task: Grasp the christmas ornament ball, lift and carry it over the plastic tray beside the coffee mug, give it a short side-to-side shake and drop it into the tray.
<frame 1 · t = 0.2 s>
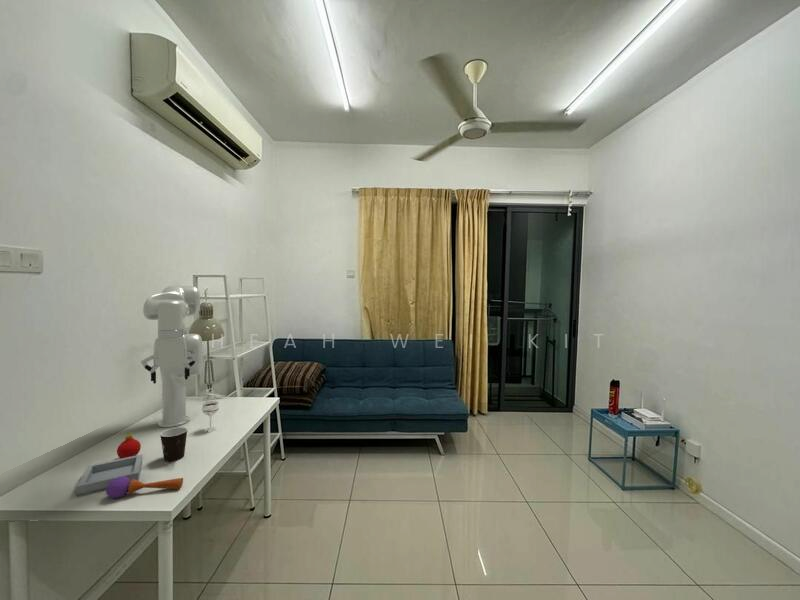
hand: (170, 380, 124), 31 cm above the table, fingers open, 9 cm apart
tray: (112, 477, 114), on the table
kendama: (145, 493, 106), on the table
wineglass: (210, 429, 155), on the table
christmas ornament: (129, 458, 127), on the table
coffee mug: (173, 459, 127), on the table
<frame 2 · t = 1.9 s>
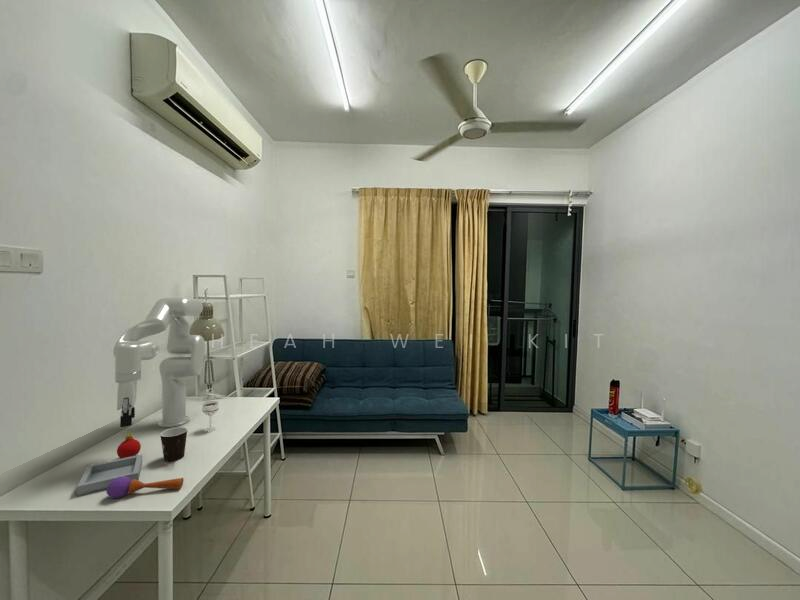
hand: (127, 422, 126), 14 cm above the table, fingers open, 9 cm apart
nothing on the table moved.
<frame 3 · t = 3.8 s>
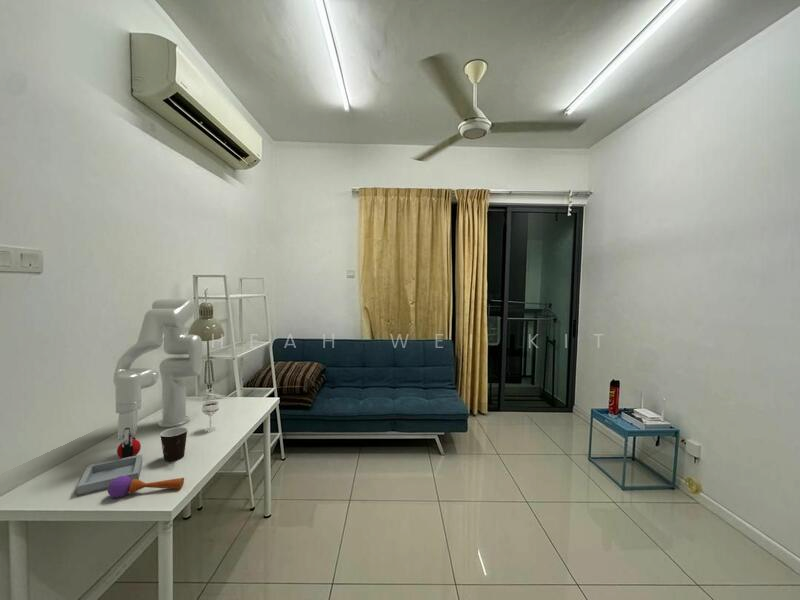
hand: (128, 452, 127), 2 cm above the table, fingers closed on christmas ornament, 7 cm apart
christmas ornament: (129, 458, 127), on the table, touching gripper
everything else where it was.
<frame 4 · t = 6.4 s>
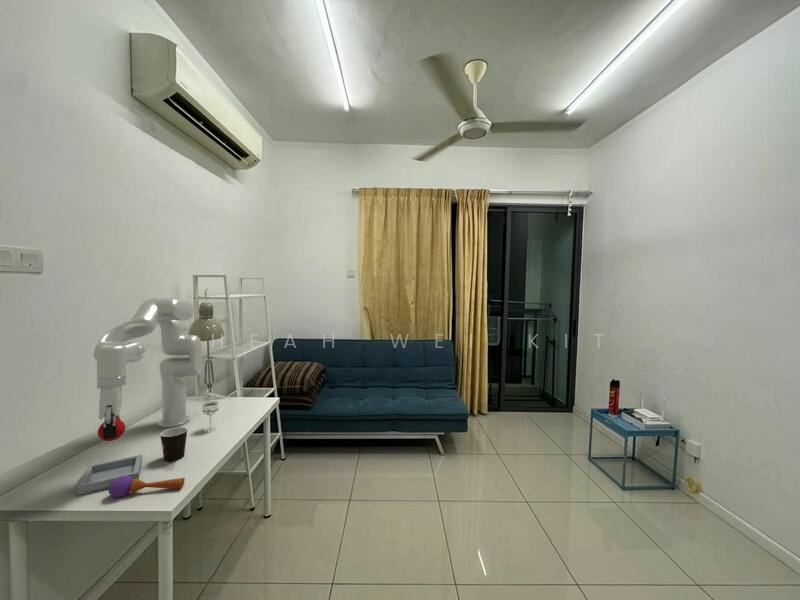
hand: (111, 433, 113), 15 cm above the table, fingers closed on christmas ornament, 7 cm apart
christmas ornament: (111, 440, 113), point 13 cm above the table, touching gripper
everything else where it was.
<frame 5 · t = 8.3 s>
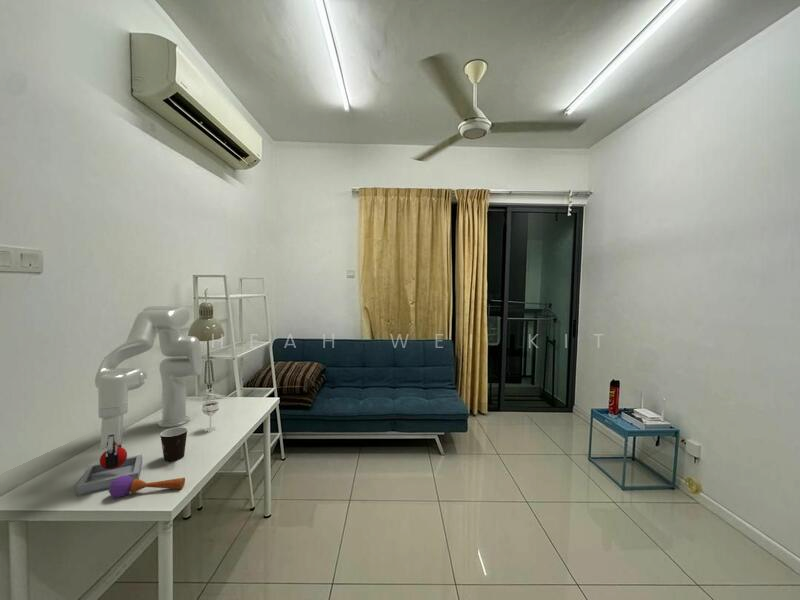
hand: (113, 461, 114), 5 cm above the table, fingers closed on christmas ornament, 7 cm apart
christmas ornament: (113, 468, 114), point 3 cm above the table, touching gripper
everything else where it was.
when the fingers open (5 cm above the table, at t = 9.2 s): christmas ornament drops 2 cm, resting on tray.
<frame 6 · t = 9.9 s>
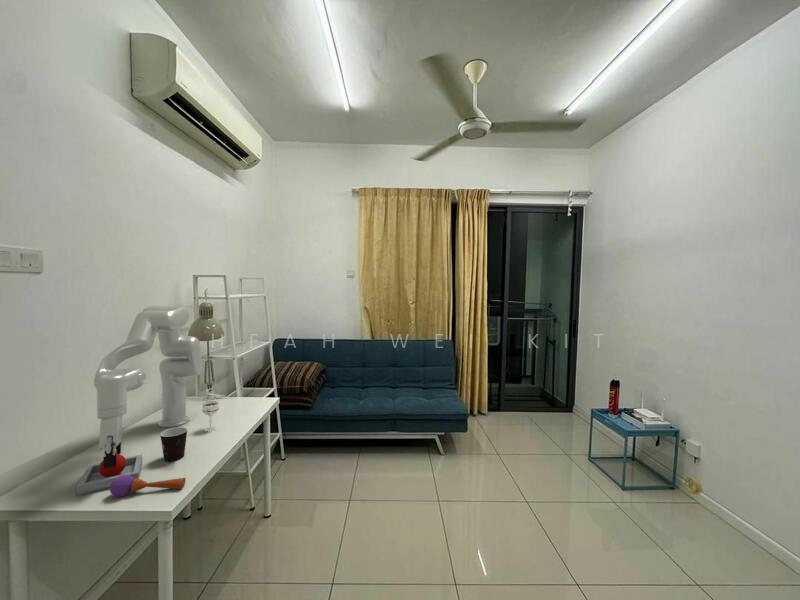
hand: (112, 460, 114), 6 cm above the table, fingers open, 9 cm apart
christmas ornament: (112, 476, 114), resting on tray
everything else where it was.
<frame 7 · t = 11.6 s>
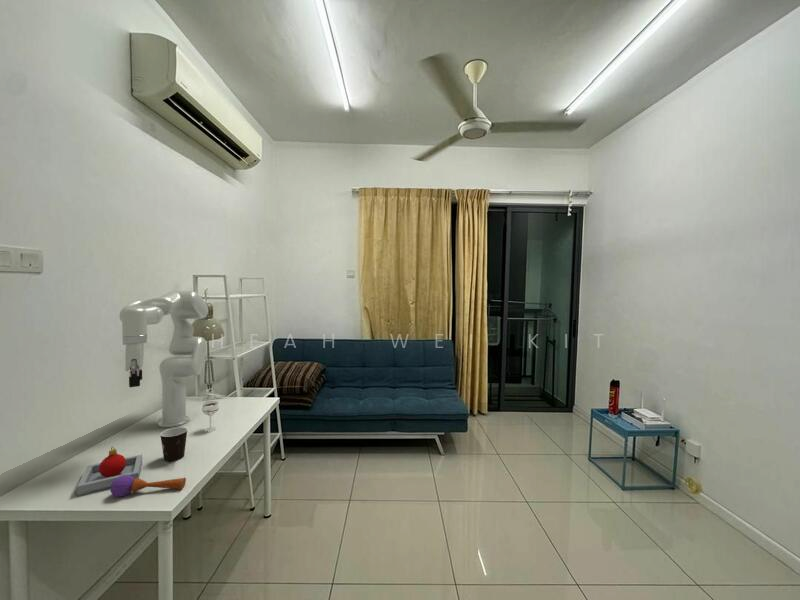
hand: (136, 383, 131), 28 cm above the table, fingers open, 9 cm apart
nothing on the table moved.
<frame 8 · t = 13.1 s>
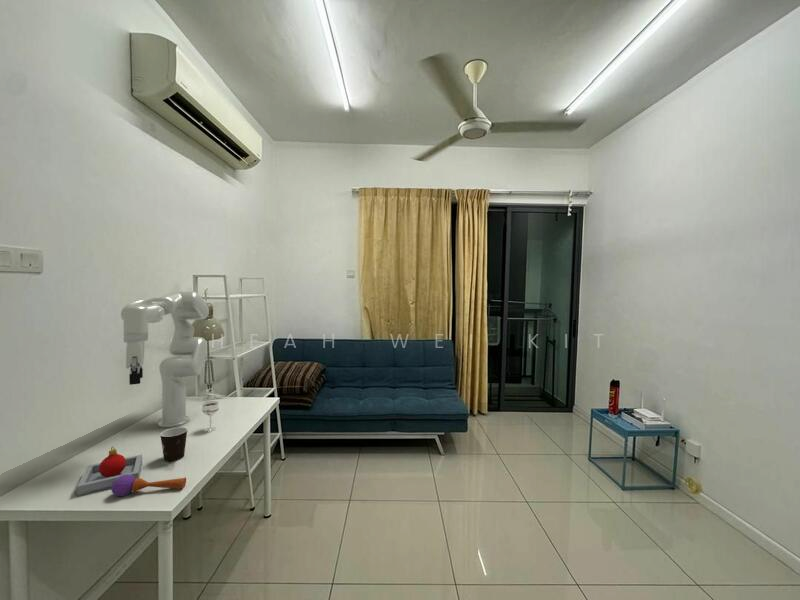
hand: (136, 381, 131), 28 cm above the table, fingers open, 9 cm apart
nothing on the table moved.
at the end: christmas ornament inside the target area on the tray (0.0 cm from its centre), point 0.4 cm above the tray's base; christmas ornament touching tray; the gripper is holding nothing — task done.
